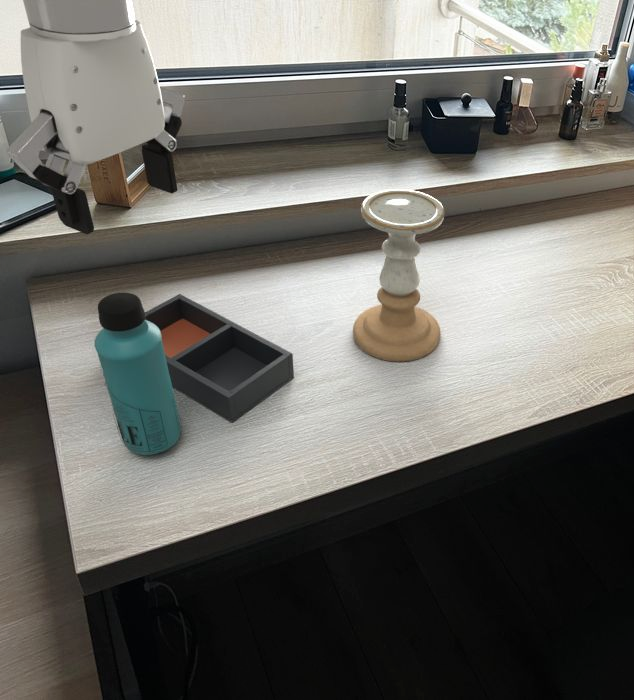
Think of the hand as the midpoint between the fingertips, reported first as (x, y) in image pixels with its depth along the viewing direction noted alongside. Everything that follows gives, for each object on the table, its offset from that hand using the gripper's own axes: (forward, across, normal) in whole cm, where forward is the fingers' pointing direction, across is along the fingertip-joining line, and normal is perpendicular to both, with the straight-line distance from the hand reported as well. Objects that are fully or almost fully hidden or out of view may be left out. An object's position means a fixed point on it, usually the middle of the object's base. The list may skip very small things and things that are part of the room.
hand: (123, 207), depth 66 cm
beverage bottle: (+29, +3, 0) cm, 29 cm away
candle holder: (+29, -30, +12) cm, 44 cm away
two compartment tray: (+29, -11, -5) cm, 31 cm away
